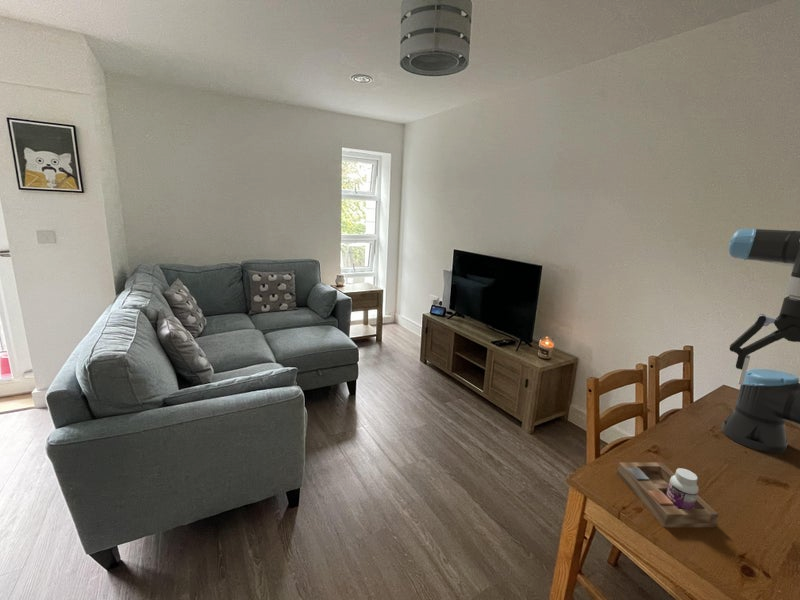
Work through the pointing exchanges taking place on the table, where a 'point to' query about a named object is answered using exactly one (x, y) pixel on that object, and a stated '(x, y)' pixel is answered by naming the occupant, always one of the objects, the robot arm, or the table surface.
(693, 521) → the socket block
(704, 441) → the table surface
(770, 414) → the robot arm
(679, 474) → the pill bottle
